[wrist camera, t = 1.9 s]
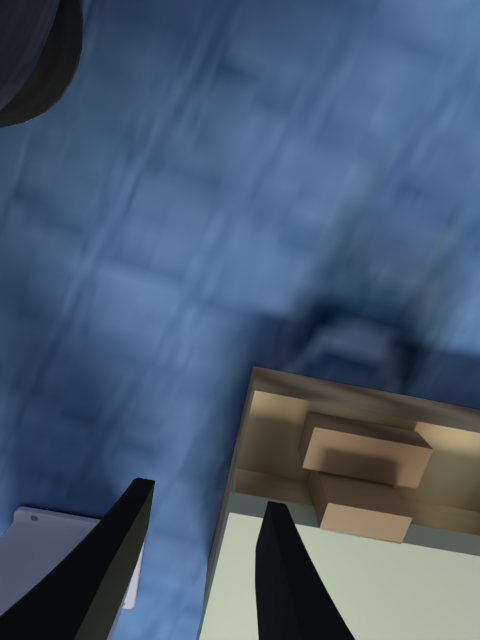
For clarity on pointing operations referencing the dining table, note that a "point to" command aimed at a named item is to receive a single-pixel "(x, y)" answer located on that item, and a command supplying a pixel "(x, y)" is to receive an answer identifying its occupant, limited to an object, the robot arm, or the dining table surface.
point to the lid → (353, 565)
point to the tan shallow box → (363, 405)
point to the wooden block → (363, 450)
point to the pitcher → (36, 55)
